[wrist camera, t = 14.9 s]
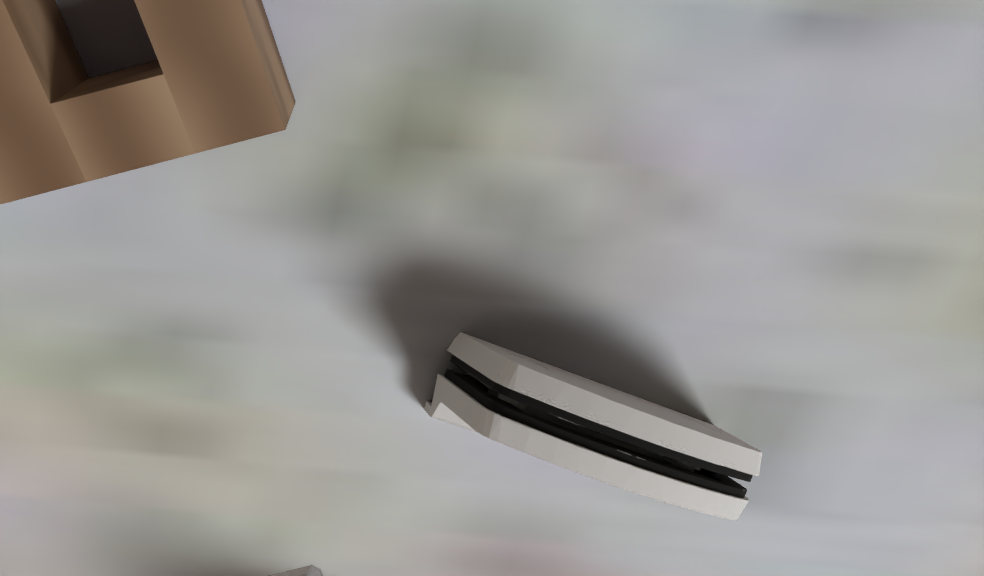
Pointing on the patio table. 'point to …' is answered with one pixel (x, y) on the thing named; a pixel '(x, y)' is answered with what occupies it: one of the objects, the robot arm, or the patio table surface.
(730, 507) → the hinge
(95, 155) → the hole block
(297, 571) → the robot arm
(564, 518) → the patio table surface
